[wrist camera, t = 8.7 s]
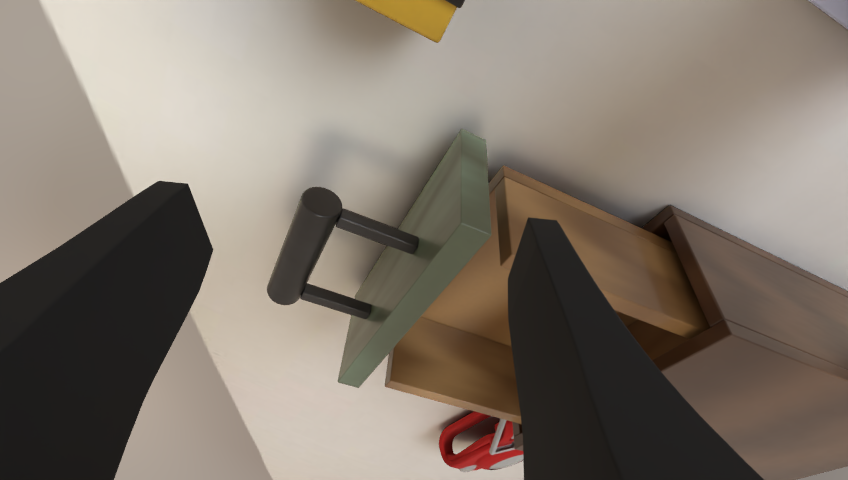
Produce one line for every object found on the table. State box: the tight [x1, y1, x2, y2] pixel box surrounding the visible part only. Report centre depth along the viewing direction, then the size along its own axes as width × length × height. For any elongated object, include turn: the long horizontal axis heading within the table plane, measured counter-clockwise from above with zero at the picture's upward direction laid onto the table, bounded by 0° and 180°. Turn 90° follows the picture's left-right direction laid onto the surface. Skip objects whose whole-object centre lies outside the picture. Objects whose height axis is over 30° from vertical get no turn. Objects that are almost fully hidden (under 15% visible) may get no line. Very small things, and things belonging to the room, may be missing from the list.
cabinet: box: [512, 205, 848, 480], centre depth 27 cm, size 16×14×7 cm
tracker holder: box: [439, 411, 524, 472], centre depth 41 cm, size 12×4×10 cm
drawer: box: [267, 129, 711, 424], centre depth 23 cm, size 20×13×6 cm, turn 64°
